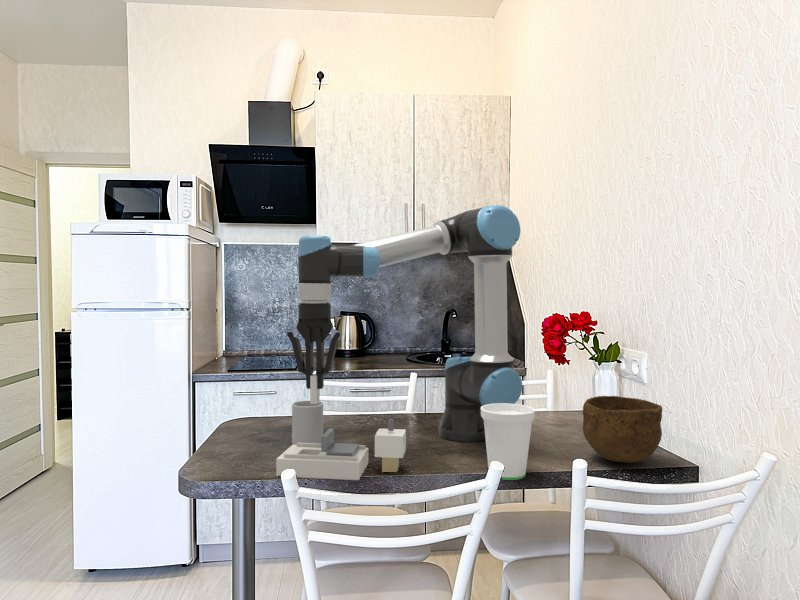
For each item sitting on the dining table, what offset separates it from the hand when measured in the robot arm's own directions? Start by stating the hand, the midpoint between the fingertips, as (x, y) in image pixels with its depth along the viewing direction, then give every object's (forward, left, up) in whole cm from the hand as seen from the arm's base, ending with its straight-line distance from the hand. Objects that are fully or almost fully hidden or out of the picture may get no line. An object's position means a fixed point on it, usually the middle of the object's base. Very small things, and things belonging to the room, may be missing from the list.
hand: (315, 402), depth 136 cm
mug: (+8, -24, -16) cm, 30 cm away
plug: (-18, -2, -16) cm, 24 cm away
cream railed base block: (-2, 0, -16) cm, 16 cm away
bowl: (-74, -17, -16) cm, 77 cm away
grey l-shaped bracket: (-6, 0, -12) cm, 13 cm away
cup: (-45, -3, -16) cm, 48 cm away
